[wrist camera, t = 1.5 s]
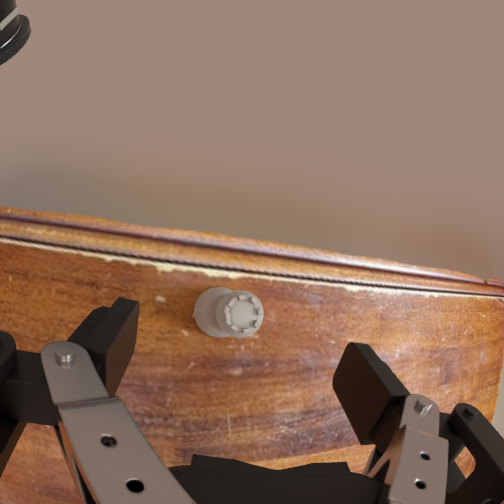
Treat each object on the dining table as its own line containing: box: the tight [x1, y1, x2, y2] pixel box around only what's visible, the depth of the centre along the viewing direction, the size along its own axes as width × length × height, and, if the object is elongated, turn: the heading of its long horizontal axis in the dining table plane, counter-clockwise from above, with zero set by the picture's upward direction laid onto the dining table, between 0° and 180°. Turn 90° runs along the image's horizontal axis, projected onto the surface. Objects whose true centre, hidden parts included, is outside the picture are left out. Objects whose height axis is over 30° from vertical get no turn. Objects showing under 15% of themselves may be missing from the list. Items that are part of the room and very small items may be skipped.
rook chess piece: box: [194, 287, 263, 338], centre depth 24 cm, size 4×4×8 cm
